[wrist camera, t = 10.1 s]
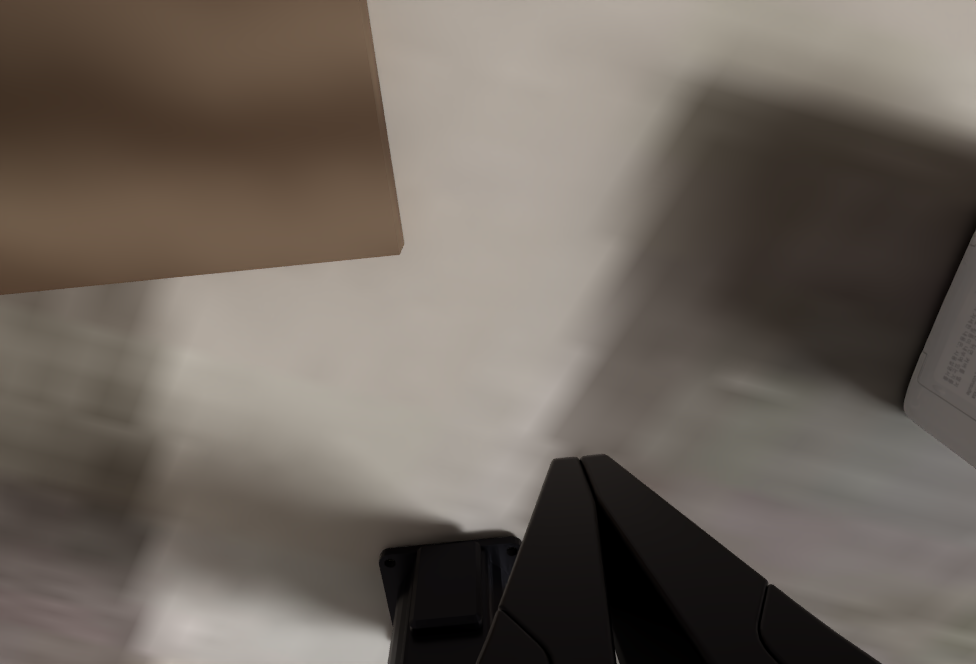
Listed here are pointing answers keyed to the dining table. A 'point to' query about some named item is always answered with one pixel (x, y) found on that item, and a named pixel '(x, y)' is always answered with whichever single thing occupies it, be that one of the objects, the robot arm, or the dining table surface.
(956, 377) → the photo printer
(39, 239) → the brown boxy piece
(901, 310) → the dining table surface
